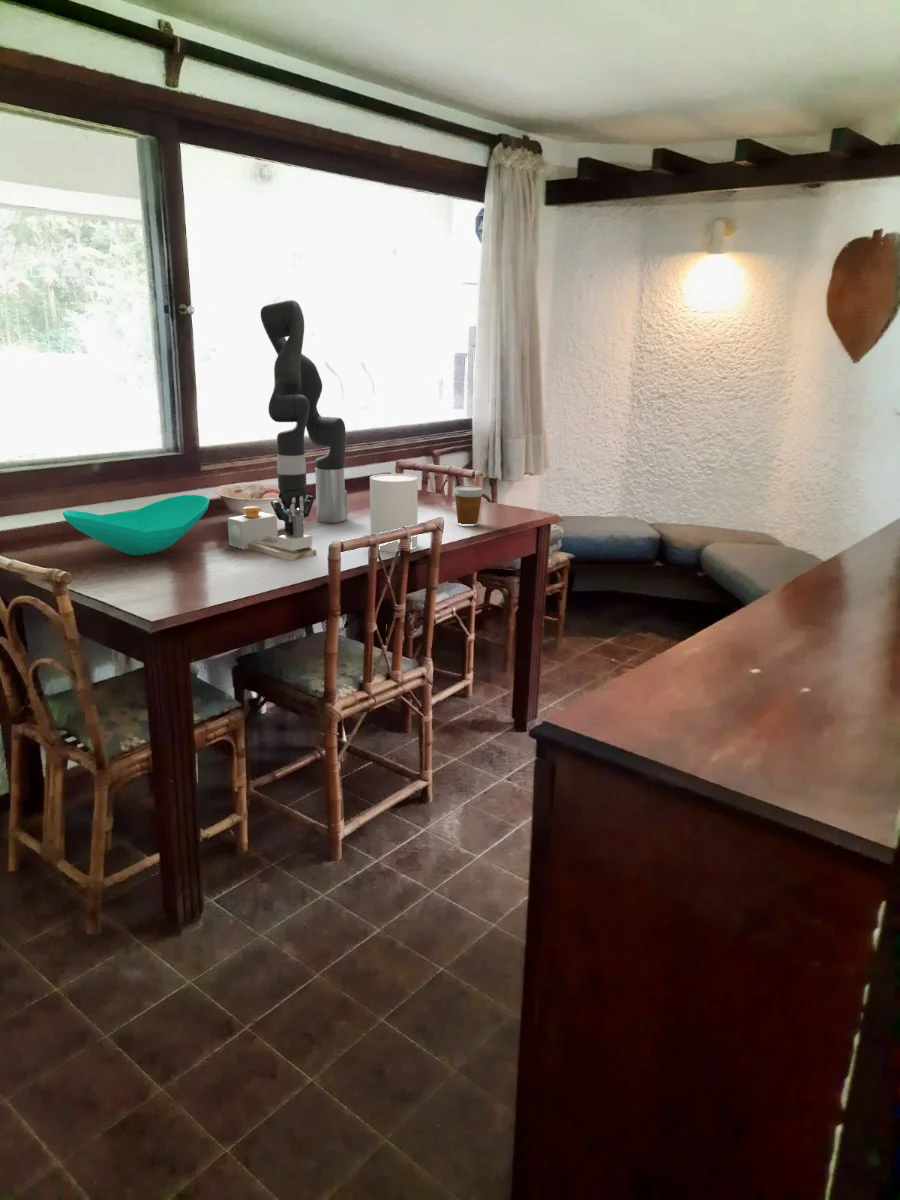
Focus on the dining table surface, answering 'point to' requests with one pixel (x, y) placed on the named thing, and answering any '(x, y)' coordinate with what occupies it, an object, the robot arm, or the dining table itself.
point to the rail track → (279, 549)
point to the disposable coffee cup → (468, 503)
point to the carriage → (295, 536)
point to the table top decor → (142, 524)
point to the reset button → (252, 512)
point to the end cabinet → (251, 529)
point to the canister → (393, 504)
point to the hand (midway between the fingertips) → (294, 533)
